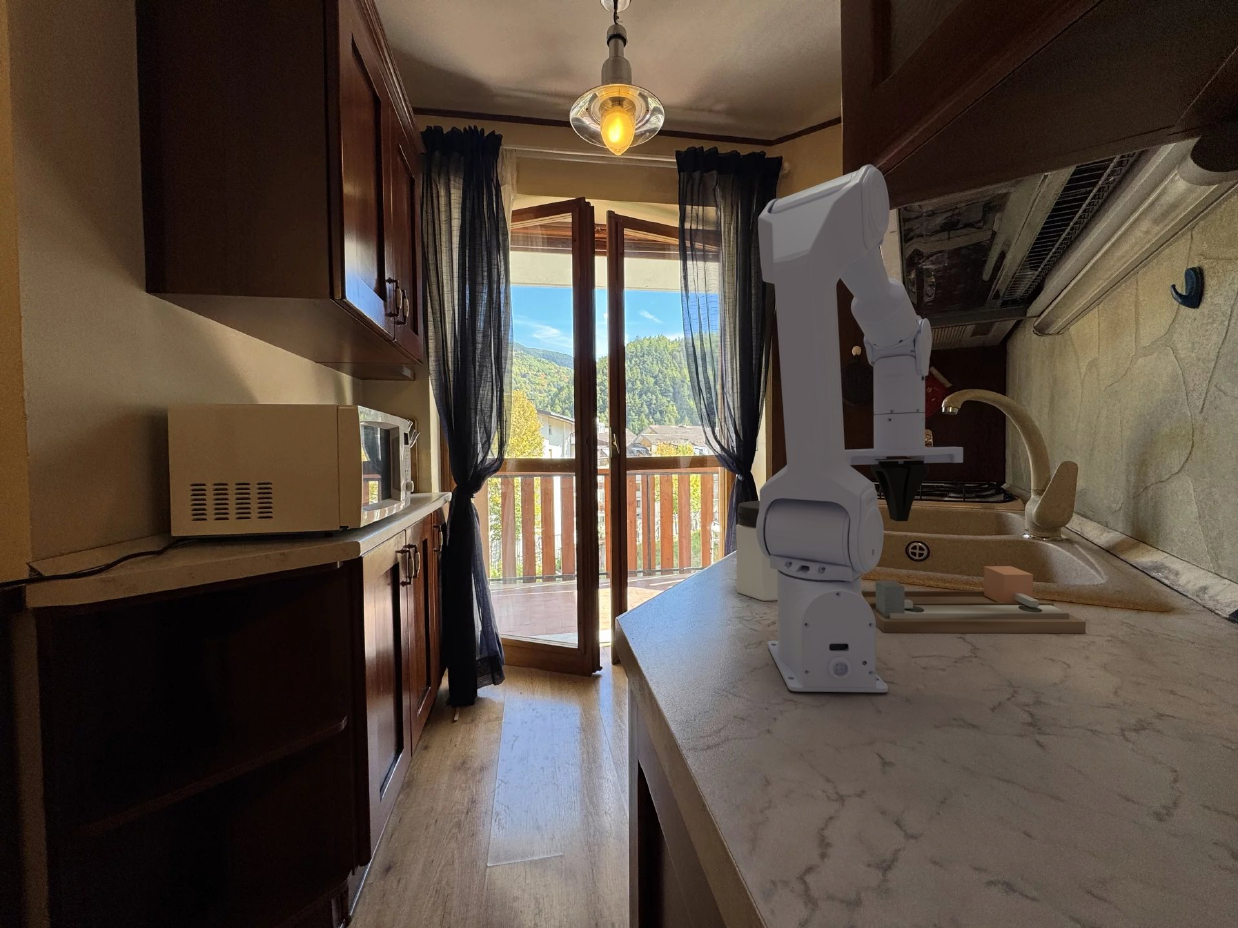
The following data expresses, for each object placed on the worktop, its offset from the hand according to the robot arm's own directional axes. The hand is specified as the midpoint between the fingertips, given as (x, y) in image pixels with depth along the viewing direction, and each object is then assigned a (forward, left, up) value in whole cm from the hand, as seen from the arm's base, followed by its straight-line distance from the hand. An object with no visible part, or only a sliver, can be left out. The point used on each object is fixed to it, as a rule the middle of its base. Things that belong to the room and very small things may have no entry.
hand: (898, 520), depth 65 cm
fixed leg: (-10, +5, -9) cm, 14 cm away
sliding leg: (-7, -9, -8) cm, 15 cm away
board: (-8, -3, -10) cm, 13 cm away
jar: (+2, +16, -10) cm, 19 cm away
